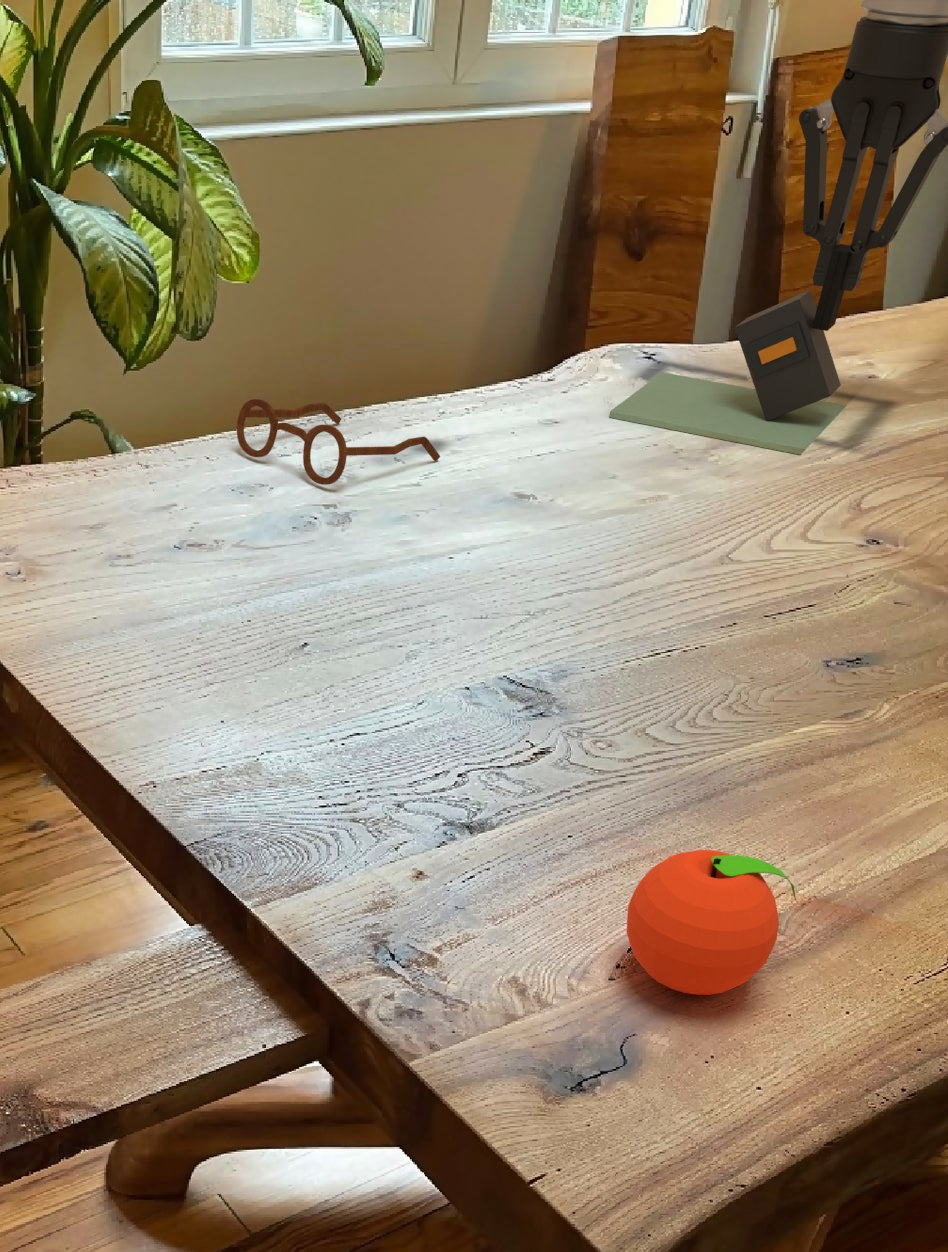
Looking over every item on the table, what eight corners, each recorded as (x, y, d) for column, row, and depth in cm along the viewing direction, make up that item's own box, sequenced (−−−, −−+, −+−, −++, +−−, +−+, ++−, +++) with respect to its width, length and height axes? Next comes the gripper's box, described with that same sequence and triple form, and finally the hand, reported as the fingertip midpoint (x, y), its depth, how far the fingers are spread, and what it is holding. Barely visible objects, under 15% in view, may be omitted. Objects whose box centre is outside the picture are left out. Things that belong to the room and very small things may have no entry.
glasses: (232, 453, 130) (233, 395, 127) (338, 423, 137) (341, 367, 134) (336, 495, 122) (340, 435, 119) (442, 461, 129) (449, 403, 126)
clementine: (742, 929, 75) (777, 812, 71) (804, 1016, 70) (846, 895, 66) (593, 942, 74) (619, 823, 70) (645, 1031, 69) (676, 908, 65)
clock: (841, 385, 136) (810, 289, 133) (829, 397, 133) (797, 299, 130) (777, 410, 140) (747, 317, 138) (764, 422, 137) (733, 328, 135)
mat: (883, 418, 141) (885, 412, 140) (844, 463, 131) (846, 456, 130) (660, 378, 150) (662, 372, 149) (608, 417, 140) (609, 411, 139)
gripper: (1001, 21, 118) (906, 329, 133) (837, 5, 123) (764, 304, 138) (984, 30, 113) (887, 349, 128) (814, 13, 118) (740, 322, 133)
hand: (823, 325), depth 133 cm, fingers closed
